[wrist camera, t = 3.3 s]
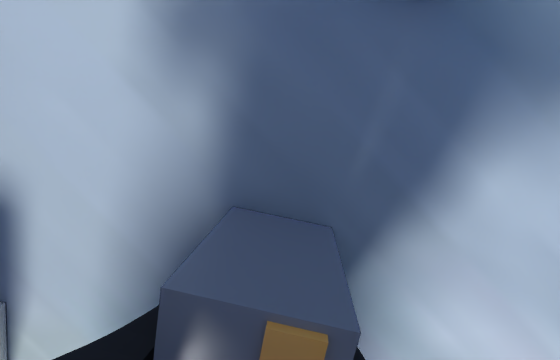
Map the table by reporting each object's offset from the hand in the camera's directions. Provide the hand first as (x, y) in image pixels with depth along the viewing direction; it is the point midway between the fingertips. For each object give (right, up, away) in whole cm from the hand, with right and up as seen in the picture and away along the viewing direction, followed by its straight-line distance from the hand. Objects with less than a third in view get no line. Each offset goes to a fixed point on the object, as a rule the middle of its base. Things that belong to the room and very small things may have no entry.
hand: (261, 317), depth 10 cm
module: (0, 0, +1) cm, 1 cm away
